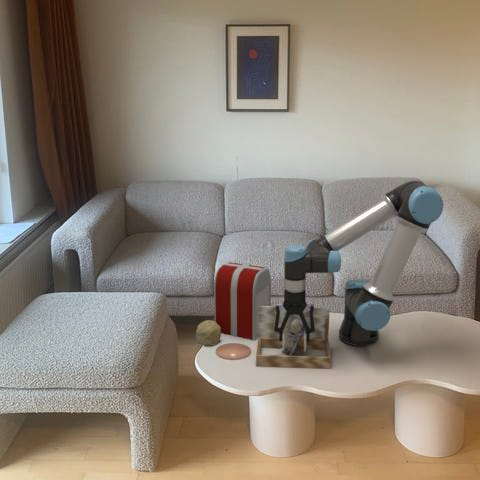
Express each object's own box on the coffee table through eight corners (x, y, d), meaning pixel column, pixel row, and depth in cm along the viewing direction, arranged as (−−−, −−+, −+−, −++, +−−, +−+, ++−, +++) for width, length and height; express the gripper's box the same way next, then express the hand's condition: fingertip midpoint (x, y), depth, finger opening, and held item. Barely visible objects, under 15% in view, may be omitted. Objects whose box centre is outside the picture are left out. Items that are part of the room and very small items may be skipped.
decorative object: (208, 355, 248) (224, 336, 245) (187, 339, 248) (202, 319, 245) (213, 347, 257) (228, 328, 254) (193, 330, 257) (208, 312, 254)
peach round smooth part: (252, 345, 249) (252, 343, 249) (249, 360, 237) (249, 358, 237) (217, 344, 250) (217, 342, 250) (213, 359, 238) (213, 357, 238)
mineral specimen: (295, 318, 246) (290, 314, 243) (313, 326, 240) (308, 322, 237) (276, 353, 243) (270, 349, 240) (293, 362, 237) (288, 357, 234)
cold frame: (328, 348, 247) (329, 308, 242) (330, 368, 230) (332, 326, 226) (258, 345, 249) (258, 306, 244) (256, 366, 232) (256, 323, 228)
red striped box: (254, 342, 252) (254, 275, 245) (213, 334, 259) (212, 269, 252) (271, 327, 266) (272, 263, 259) (231, 319, 273) (231, 257, 266)
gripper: (323, 286, 235) (321, 345, 241) (266, 285, 236) (266, 344, 242) (323, 293, 228) (322, 354, 233) (266, 292, 229) (266, 353, 235)
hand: (294, 349), depth 238 cm, fingers closed on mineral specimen, 7 cm apart
